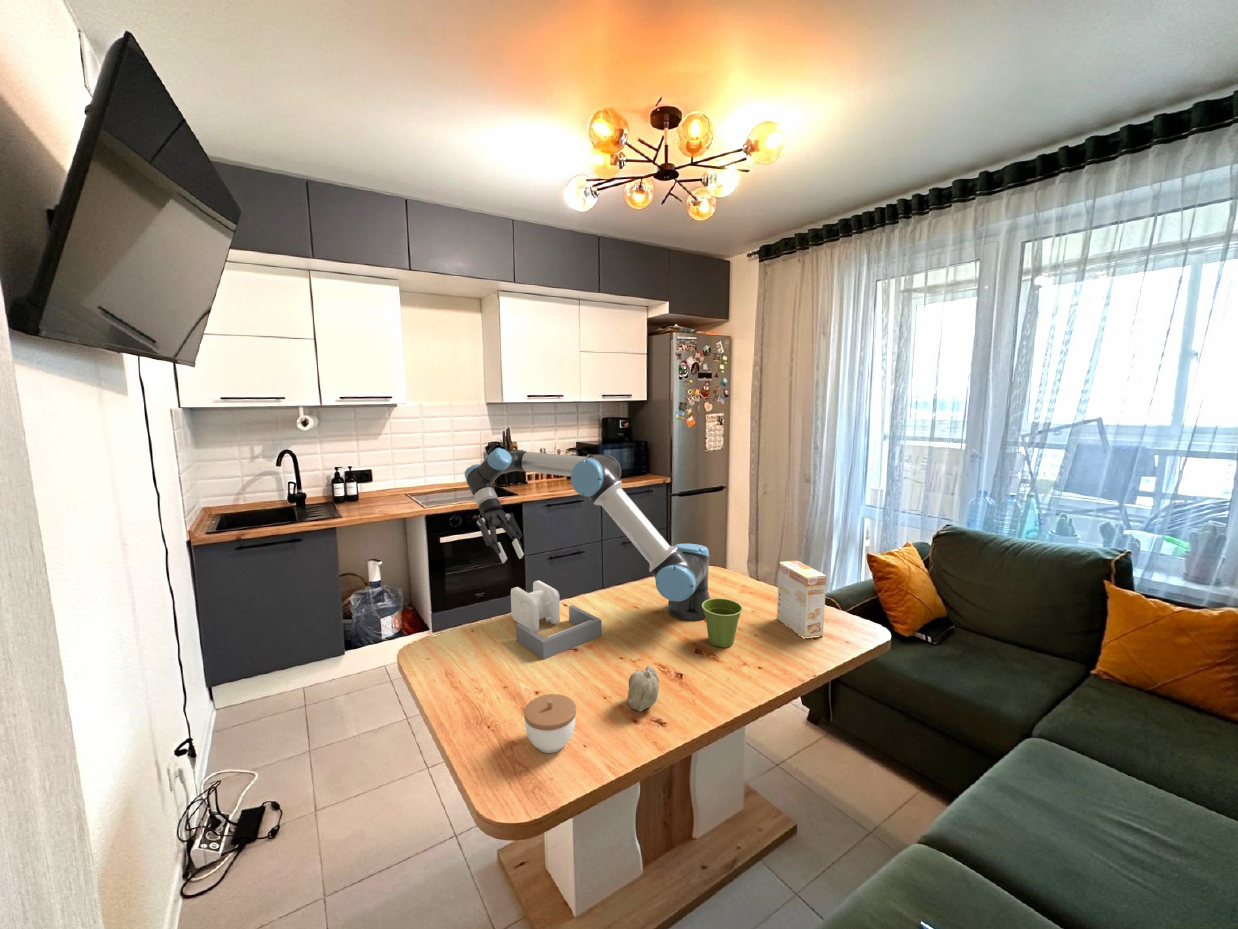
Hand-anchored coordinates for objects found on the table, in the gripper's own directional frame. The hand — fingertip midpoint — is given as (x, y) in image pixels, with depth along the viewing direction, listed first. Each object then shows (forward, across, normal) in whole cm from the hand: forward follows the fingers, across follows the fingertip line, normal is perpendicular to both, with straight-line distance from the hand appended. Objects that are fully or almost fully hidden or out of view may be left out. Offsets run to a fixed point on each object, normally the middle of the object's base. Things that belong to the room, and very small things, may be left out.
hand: (513, 558), depth 166 cm
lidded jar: (+57, +28, +31) cm, 71 cm away
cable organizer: (+22, 0, -4) cm, 23 cm away
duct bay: (+31, 0, +5) cm, 31 cm away
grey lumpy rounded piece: (+60, +5, +34) cm, 69 cm away
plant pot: (+56, -34, +30) cm, 72 cm away
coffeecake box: (+64, -60, +37) cm, 95 cm away
